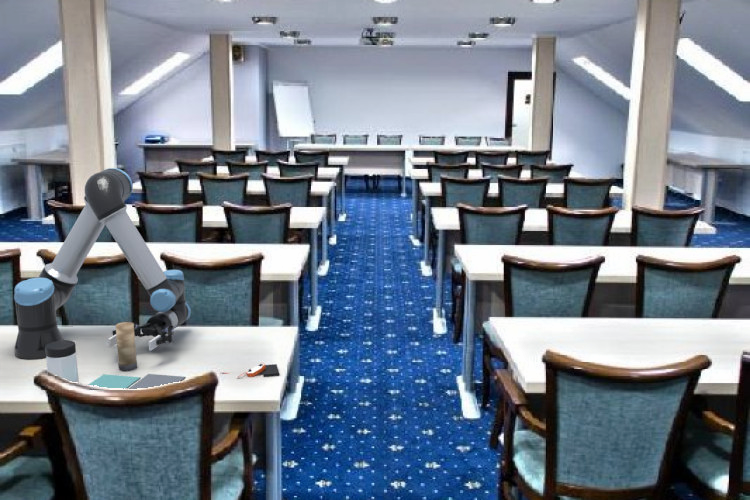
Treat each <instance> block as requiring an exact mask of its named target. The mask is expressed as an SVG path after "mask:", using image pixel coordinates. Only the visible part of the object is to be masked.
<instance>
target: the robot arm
mask: <svg viewBox="0 0 750 500" xmlns="http://www.w3.org/2000/svg"><path fill="white" fill-rule="evenodd" d="M133 184H134V183H133V182H132V178H131V177H130V176H129V174H128V173H127V172H125V171H124V170H122V169H120V168H116V167H115V168H114V167H113V168H112V167H111V168H110V167H109V168H105V169H103V170H101V171H99V172H96V173H94V174H92V175H91V176H90V177H89V178H88V179H87V180H86V182H85V185H84V198H83V200H84V203H85V205H84V206H83V209H82V210H81V212H80V214H79V216H78V217H77V219H76V220H75V223H74V224H73V225H72V228H71V229H70V231H69V233H68V235H67V237H66V238H65V239H64V242H63V243H62V244H61V246H60V249H59V250H58V252H57V253H56V255H55V257H54V259H53V261H52V262H50V263H47V264H45V265H44V267H43V268H42V270H41V272H40V274H39V276H38V277H32V278H28V279H27V280H22V281H20V282H18V283H17V284H16V285H15V287H14V292H13V293H14V295H13V298H14V304H15V305H14V306H15V313H16V321H17V328H18V329H17V330H18V333H17V337H16V340H15V345H14V356H15V357H16V358H18V359H24V360H38V359H46V352H45V346H46V345H47V344H49V343H52V342H55V341H61V340H64V338H63V336H62V333H61V331H60V329H59V327H58V320H57V319H58V318H57V310H59V308H60V307H62V306H63V305H65V304H66V303H67V302H69V301H70V299H71V298H72V296H73V294H74V291H75V286H76V285H77V283H78V280H79V279H78V275H77V274H78V272H80V271H79V270H80V269H81V267H82V266H83V264H84V262H85V260H86V259H87V257H88V256H89V253H90V251H91V250H92V248H93V246H95V243H96V241H97V240H98V238H99V236H100V234H101V232H102V231H103V229H104V227H105V226H106V228H107V230H108V232H109V233H110V234H111V236H112V237H113V239H114V241H115V243H116V244H117V246H118V247H119V248H120V250H121V252H122V254H123V256H125V258H126V260H127V261H128V264H129V265H130V266H131V268H132V269H133V271H134V272H135V274H136V276H137V278H138V279H139V281H140V282H141V284H142V286H143V287H144V288H145V290H146V291H147V293H148V295H149V297H150V298H149V299H150V300H149V303H150V306H151V307H152V308H153V310H154V311H156V312H157V313H155V314H154V315H151V316H150V317H149V318H148V320H147V321H146V323H145V324H142V325H139V323H134V335H135V337H139V338H142V337H150V336H152V337H153V338H152V339H150V340H149V341H148V350H149V351H153V350H154V349H156V348H157V347H158V346H160V345H162V344H166V343H171V344H172V343H173V335H174V334H175V331H174V330H175V329H176V328H178V327H179V326H181V325H183V324H184V323H186V321H187V320H188V319H189V318H190V317H191V315H192V314H191V313H192V309H191V307H190V306H189V304H188V303H187V302H186V296H185V295H186V291H185V278H184V277H185V276H184V272H183V271H182V270H180V269H167V270H164V271H163V269H162V268H161V265H160V264H159V263H158V261H157V259H156V257H155V256H154V254H153V253H152V251H151V250H150V248H149V246H148V245H147V243H146V241H145V240H144V238H143V236H142V235H141V233H140V232H139V230H138V229H137V227H136V225H135V224H134V222H133V221H132V218H131V217H130V215H129V214H128V212H127V209H128V207H127V204H126V203H125V201H126V200H129V198H130V197H131V196H132V192H133V189H134V187H133V186H134V185H133ZM111 335H112V336H111V337H109V338H107V344H108V345H107V347H108V348H112V347H114V346H116V345H117V335H116V329H115V330H112V333H111Z"/></svg>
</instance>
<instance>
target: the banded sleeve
mask: <svg viewBox="0 0 750 500" xmlns="http://www.w3.org/2000/svg"><path fill="white" fill-rule="evenodd" d="M134 324H135V322H131V321H122V322H118V323H117V324H115V330H116V335H117V344H116V345H117V348H116V349H117V358H118V363H117V364H118V370H119V372H132V371H134V370H137V368H138V361H137V351H136V349H137V348H136V338H135V337H136V336H135V335H134Z"/></svg>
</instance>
